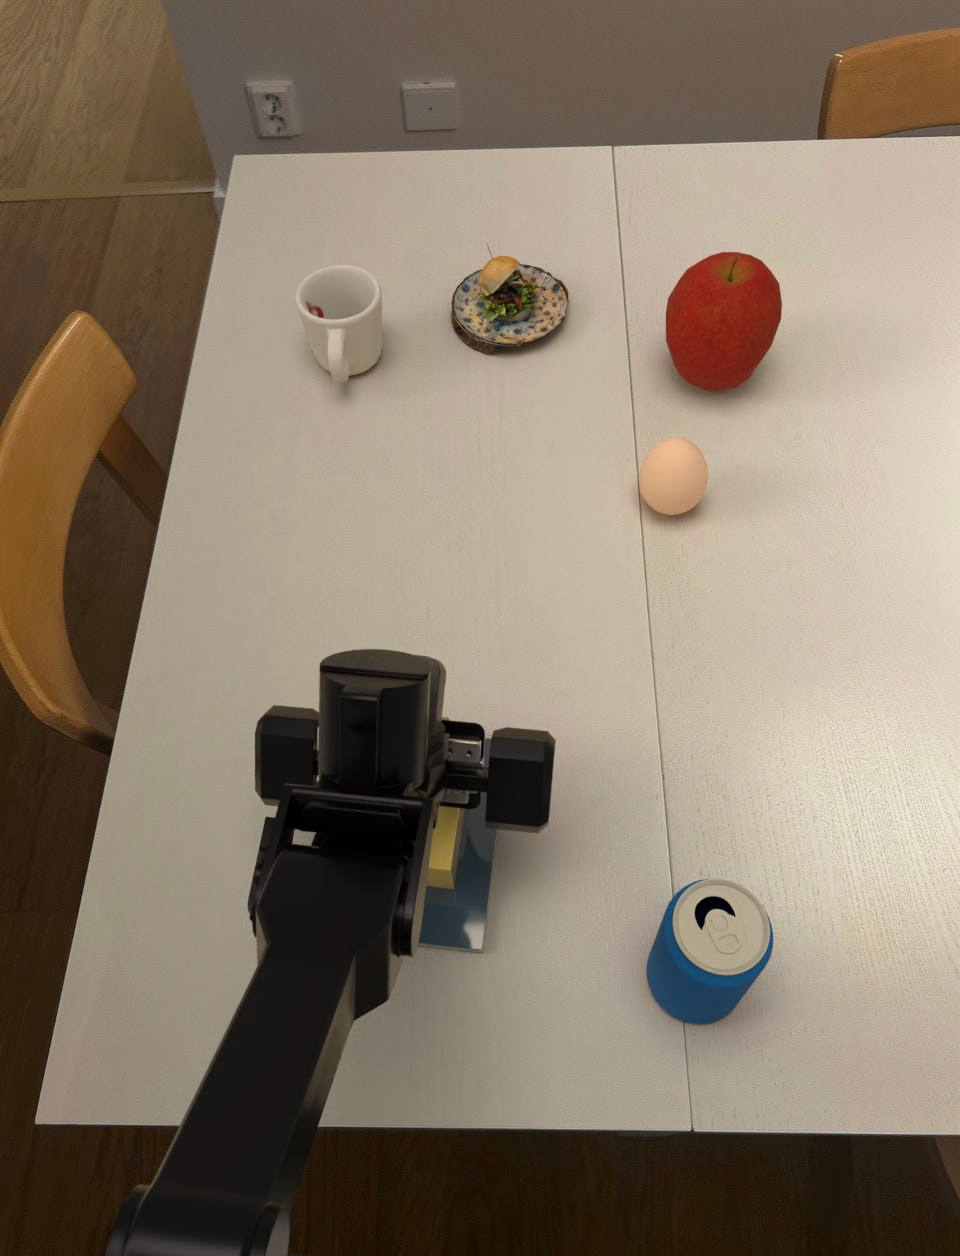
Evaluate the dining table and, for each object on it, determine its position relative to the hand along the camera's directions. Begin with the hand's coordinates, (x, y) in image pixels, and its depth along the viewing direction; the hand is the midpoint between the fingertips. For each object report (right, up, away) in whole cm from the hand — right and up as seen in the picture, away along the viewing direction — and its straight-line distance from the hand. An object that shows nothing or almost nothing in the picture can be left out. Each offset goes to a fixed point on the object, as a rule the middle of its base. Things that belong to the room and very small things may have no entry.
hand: (425, 721), depth 75 cm
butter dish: (0, -9, +3) cm, 9 cm away
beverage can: (+18, -17, -3) cm, 25 cm away
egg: (+20, +17, +19) cm, 33 cm away
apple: (+26, +31, +27) cm, 48 cm away
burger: (+7, +38, +32) cm, 50 cm away
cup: (-9, +32, +29) cm, 44 cm away
